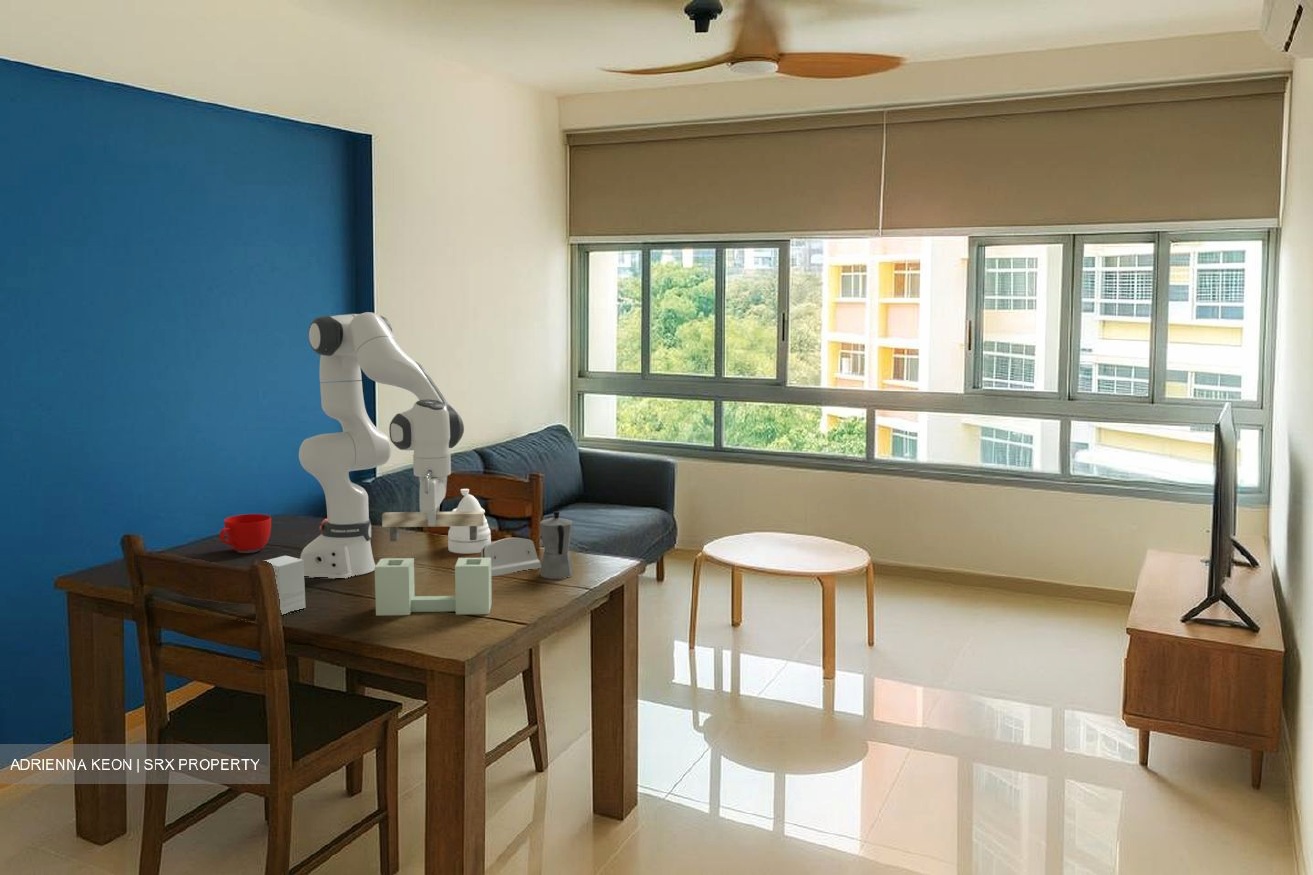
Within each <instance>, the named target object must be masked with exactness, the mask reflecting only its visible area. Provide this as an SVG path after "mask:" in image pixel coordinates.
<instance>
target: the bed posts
mask: <svg viewBox="0 0 1313 875" xmlns="http://www.w3.org/2000/svg"><path fill="white" fill-rule="evenodd" d="M375 565H376V566H375V570H374V581H375V582H374V589H375V595H374V596H375V616H410V615H411V614H412V613H417V612H418V613H420V612H423V613H424V612H426V613H427V612H429V613H431V612H433V613H434V612H435V613H436V612H437V613H438V612H455V615H490V611H491V609H492V608H491V607H492V604H493V602H492V597H493V596H492V592H493V591H492V576H491V558H482V557H458V558H457V561H456V563H455V565H454V584H455V586H454V588H455V589H454V590H455V592H454V593H455V595H424V596H423V595H418V596H417V595H415V592H416V591H415V589H416V588H415V558H414V557H413V558H412V557H407V558H405V557H404V558H403V557H402V558H399V557H398V558H394V557H393V558H390V557H389V558H388V557H387V558H384V557H383V558H380V559H379V560H378V562H377V563H376V564H375Z"/></svg>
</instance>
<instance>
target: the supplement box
mask: <svg viewBox="0 0 1313 875" xmlns="http://www.w3.org/2000/svg"><path fill="white" fill-rule="evenodd" d="M264 561H267V562H269V563H271V564H272V566H273V568H274V572H275V579H276V584H277V589H278V593H279V599H280V610H281V613H282V615H283V614H286V613H288V612H290V611H294V610H299V609H303V608H306V589H305V587H306V586H305V577H304V562H303V560H302V559H300V558H297V557H293V556H289V555H280V556H278V557H274V558H270V559H266V560H264ZM306 609H307V608H306Z"/></svg>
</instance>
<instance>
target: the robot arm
mask: <svg viewBox="0 0 1313 875" xmlns="http://www.w3.org/2000/svg"><path fill="white" fill-rule="evenodd" d="M308 342H309V346H310V347H311V349H312V350H313V351H314V352H315V354H318V355H320V357H319V382H320V383H319V389H320V400H321V401H320V402H321V410H323V412H324V413H325V415H326V416H328V417H330V418H331V419H335V420H337V421H338V422H339V424H340V425H341V428H342V429H341V430H342V431H340V432H333V433H332V432H330V433H321V434H317V435H314V436H311V437H307V438H305V439H304V440H303V441H302V443H301V444H300V447H299V451H298V459H299V462H300V465H301V467H302V468H303V469H304V470H305V471H306V472H307V473H308V474H310V475H312V476H313V477H314V478H315V479H316V480H317V481H318V482H319V484H320V486H321V487H322V489H323V494H324V495H325V504H326V515H327V517H326V518H324V519H323V520H322V521H321V523H320V526H319V531H320V535H318V536H317V537H316V538H315V539H313V540H311V542H309V543H308V544H307V545H306V546H305V547H304V548H303V549H302V551H301V553H300V556H299V559H302V560H303V562H304V576H309V577H308V578H314V577H328V578H327V579H335V578H345V579H348V577H349V578H351V576H352V577H355V575H356V576H361V575H365V574H368V573H371V572H375V566H376V565H377V564H376V563H375V559H374V556H373V550H372V545H371V544H372V543H371V539H372V523H371V519H370V518H369V516H370V515H369V495H368V492H367V491H366V489H365V488H364V487H362V486H361V485H359V484H356V483H354V482H352V481H351V479H350V475H349V473H350V472H354V471H362V470H370V469H371V470H372V469H374V468H377V467H380V466H382V465H383V466H384V465H385V464H387V462H388V461H389V460H390V458H391V454H392V444H393V445H394V446H395V447H396V448H397V449H398V450H401V451H413V455H412V456H413V460H412V462H413V465H412V466H413V475H414V477H418V482H419V512H421V513H427V518H428V526H435V525H436V512H440V505H441V504H442V502H443V500H444V499H445V498H446V494H447V483H448V476H450V475H451V474H452V463H451V462H452V459H451V456H452V455H451V451H450V449H453V448H454V447H456V446H457V444H458V443H459V442H460V441H461V439H462V438H463V435H464V431H465V425H464V422H463V419H462V417H461V416H460V414H459V413H458V411H456V410H455V409H454V408H453V407H452V406H451V405H450V404H449V402H448V401H447V399H446V398H445V396H444V395H443V393H441V391H440V389H439V388H438V386H437V385H436V384H435V382H434V381H433V379H432V377H431V376H430V375H429V374H428V372H427V370H426V369H425V368H424V367H423V366H422V365H421V364H420V363H418V362H417V361H415V360H414V359H413V358H412V357H410V356H409V355H408V354H407V353H406V352H405V351H404V350H403V349H402V347H401V346H400V345H399V343H398V340H397V338H396V337H395V335H394V333H393V328H392V326H391V324H390V321H389V319H387V318H386V317H384V316H381V315H379V314H378V313H375V312H372V311H371V312H369V311H366V312H363V313H349V314H338V315H321V316H319V317H316V318H314V319H313V320H312V322H311V323H310V325H309V328H308ZM362 372H363V374H364V375H365V376H366V377H367V378H368V379H369V380H372V381H374V382H375V383H378V384H382V385H389V386H393V387H398V388H401V389H403V390H407V391H408V392H411V393H412V394H413V395H414V396H416V398H417V399H418V400H417V401H415V402H414V404H413V407H411V408H410V409H408V410H406V411H403V412H400V413H396V414H395V415H394V417H392V419H391V421H390V423H389V437H388V435H387V434H385V433H384V432H383V431H382V430H380V429H379V428H378V427H376V426H375V424H374V423H373V422H372V420H371V418H370V417H369V415H368V413H367V410H366V409H367V408H366V404H365V400H364V399H365V398H364V392H363V381H362V379H363V378H362ZM389 438H390V439H389ZM391 443H392V444H391Z"/></svg>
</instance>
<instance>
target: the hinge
mask: <svg viewBox="0 0 1313 875" xmlns="http://www.w3.org/2000/svg"><path fill="white" fill-rule="evenodd" d="M480 553H481V558H491V577H496V576H502V575H508V574H514V573H513V572H515V573H518V572H517V571H521V572H523V571H522V570H527V571H529V570H528V569H533V570H538V568H539V569H541V565H542V562H541V561H540V559H539V558H538V557H539V556H538V553H537V551H536V546H535V544H534V541H533V540H531V539H529V538H524V537H523V538H522V537H506V538H502V539H498V540H495V541H491V543H490V544H488V545H486V546H485V547H483V548H482V550H481V552H480Z"/></svg>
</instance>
